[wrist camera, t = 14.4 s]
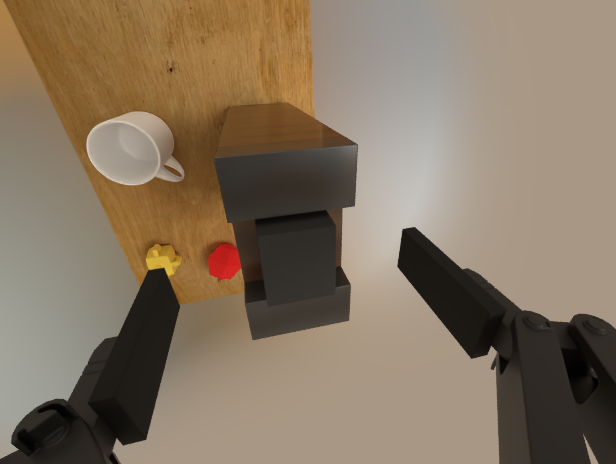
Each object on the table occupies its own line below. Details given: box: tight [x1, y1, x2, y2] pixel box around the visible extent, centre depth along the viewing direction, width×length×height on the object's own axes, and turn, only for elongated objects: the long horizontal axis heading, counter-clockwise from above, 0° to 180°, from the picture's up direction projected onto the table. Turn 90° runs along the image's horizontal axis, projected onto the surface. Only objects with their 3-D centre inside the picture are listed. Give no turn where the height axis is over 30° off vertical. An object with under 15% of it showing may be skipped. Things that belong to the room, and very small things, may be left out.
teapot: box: [146, 244, 182, 279], centre depth 55 cm, size 8×6×5 cm
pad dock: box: [214, 103, 358, 340], centre depth 38 cm, size 18×10×33 cm, turn 2°
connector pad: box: [255, 210, 336, 307], centre depth 24 cm, size 7×6×4 cm
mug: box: [87, 111, 185, 185], centre depth 42 cm, size 9×12×11 cm
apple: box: [208, 244, 241, 282], centre depth 57 cm, size 7×7×8 cm
